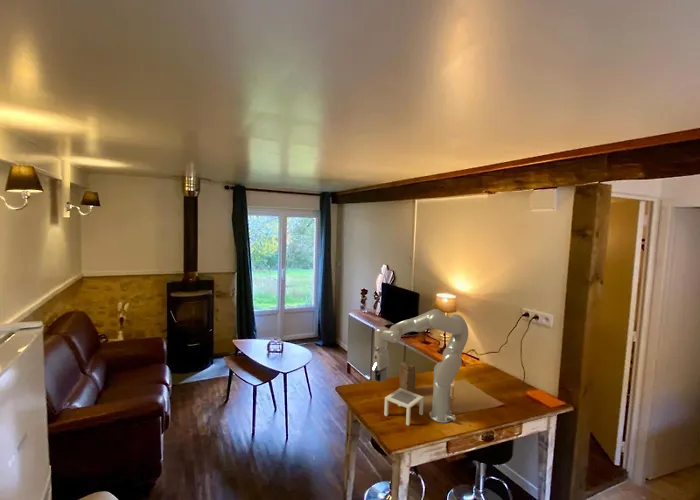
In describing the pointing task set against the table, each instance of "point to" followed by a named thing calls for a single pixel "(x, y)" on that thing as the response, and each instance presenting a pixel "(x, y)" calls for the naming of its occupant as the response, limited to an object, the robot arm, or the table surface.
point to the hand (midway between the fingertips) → (380, 378)
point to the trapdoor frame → (408, 406)
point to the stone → (382, 375)
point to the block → (407, 376)
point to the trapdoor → (404, 397)
